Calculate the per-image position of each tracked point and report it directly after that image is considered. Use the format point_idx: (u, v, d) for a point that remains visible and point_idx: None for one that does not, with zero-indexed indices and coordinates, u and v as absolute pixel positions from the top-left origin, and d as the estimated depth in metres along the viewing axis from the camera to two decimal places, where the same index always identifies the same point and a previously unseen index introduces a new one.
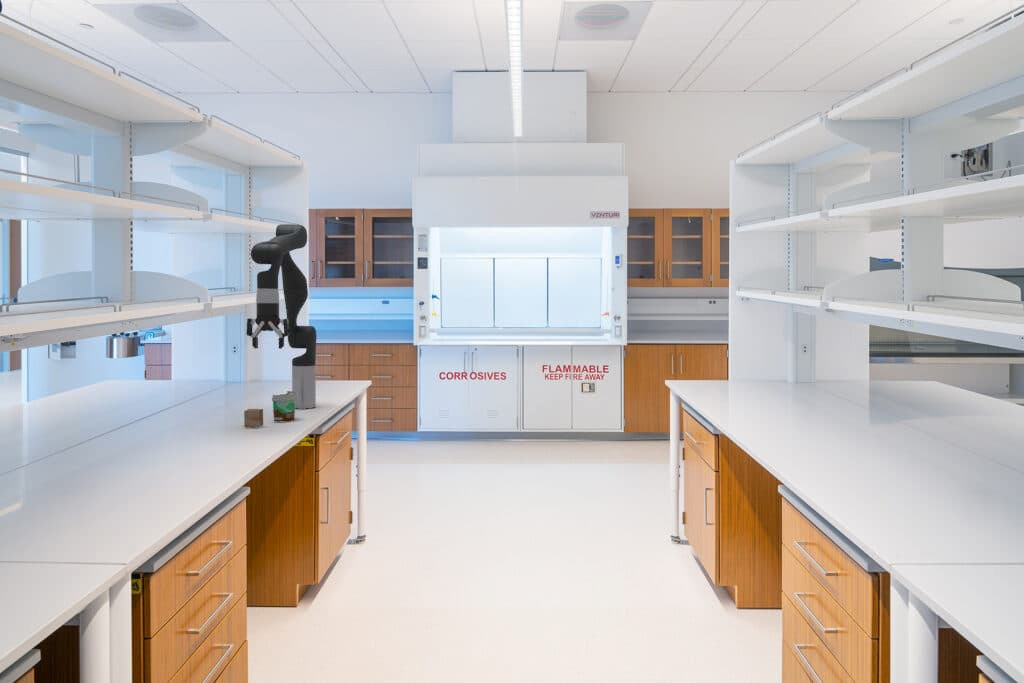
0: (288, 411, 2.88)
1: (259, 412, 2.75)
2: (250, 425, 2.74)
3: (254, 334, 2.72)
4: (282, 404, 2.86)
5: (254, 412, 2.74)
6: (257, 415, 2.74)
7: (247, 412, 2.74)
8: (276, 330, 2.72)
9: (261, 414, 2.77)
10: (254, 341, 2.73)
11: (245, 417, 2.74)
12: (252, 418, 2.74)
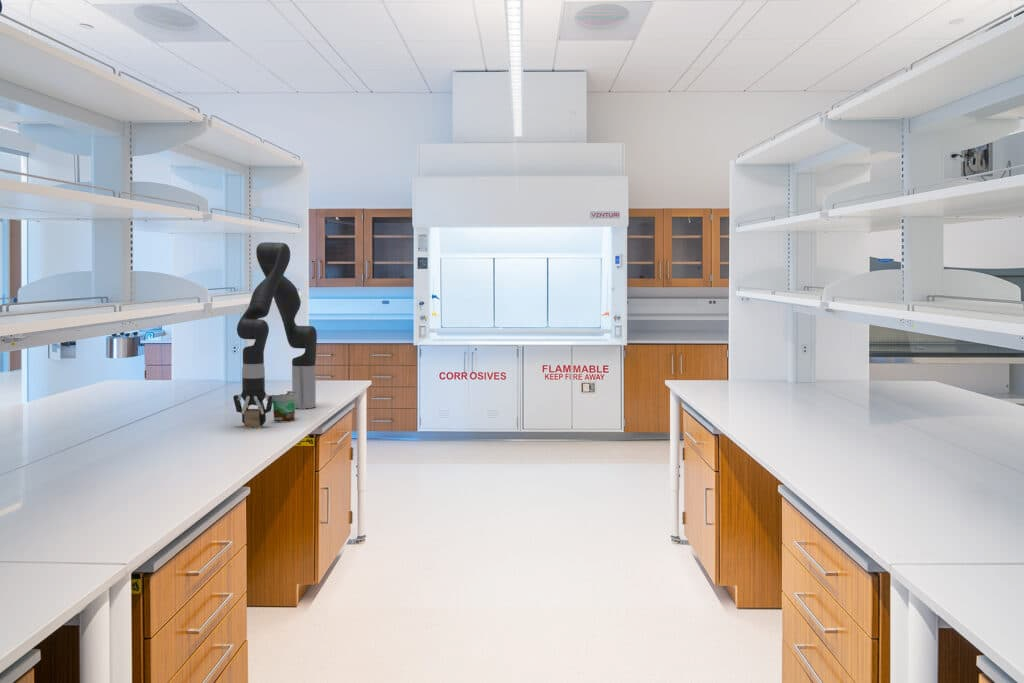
0: (288, 411, 2.88)
1: (259, 412, 2.75)
2: (250, 425, 2.74)
3: (244, 410, 2.75)
4: (282, 404, 2.86)
5: (254, 412, 2.74)
6: (257, 415, 2.74)
7: (247, 412, 2.74)
8: (259, 406, 2.74)
9: None
10: None
11: (245, 417, 2.74)
12: (252, 418, 2.74)
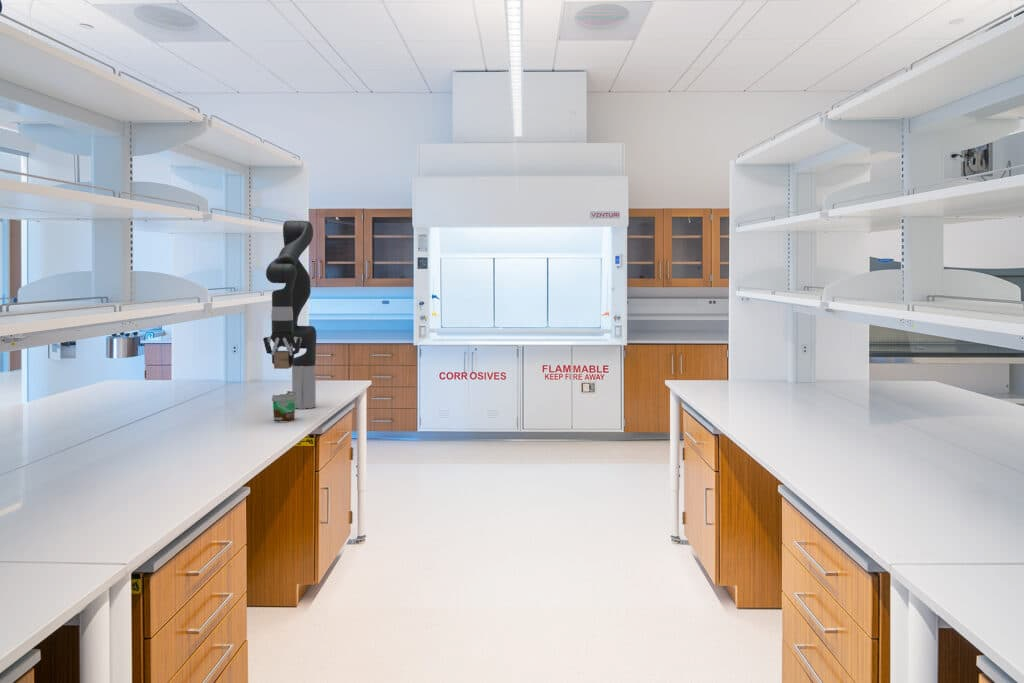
0: (288, 411, 2.88)
1: (288, 353, 2.86)
2: (279, 366, 2.85)
3: None
4: (282, 404, 2.86)
5: (283, 353, 2.85)
6: (286, 356, 2.85)
7: (276, 353, 2.85)
8: (288, 347, 2.85)
9: None
10: None
11: (275, 358, 2.85)
12: (281, 359, 2.85)
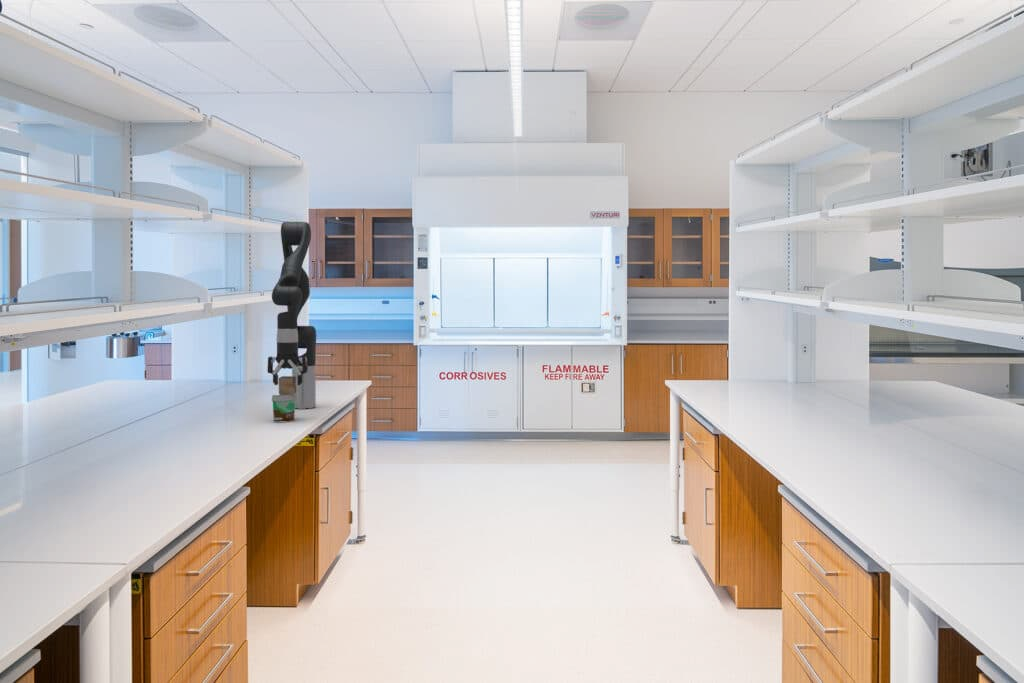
0: (288, 411, 2.88)
1: (293, 379, 2.88)
2: (284, 391, 2.87)
3: (275, 372, 2.88)
4: (282, 404, 2.86)
5: (288, 379, 2.87)
6: (291, 381, 2.87)
7: (281, 379, 2.87)
8: (295, 368, 2.88)
9: (294, 381, 2.90)
10: (275, 378, 2.88)
11: (279, 384, 2.87)
12: (286, 385, 2.87)
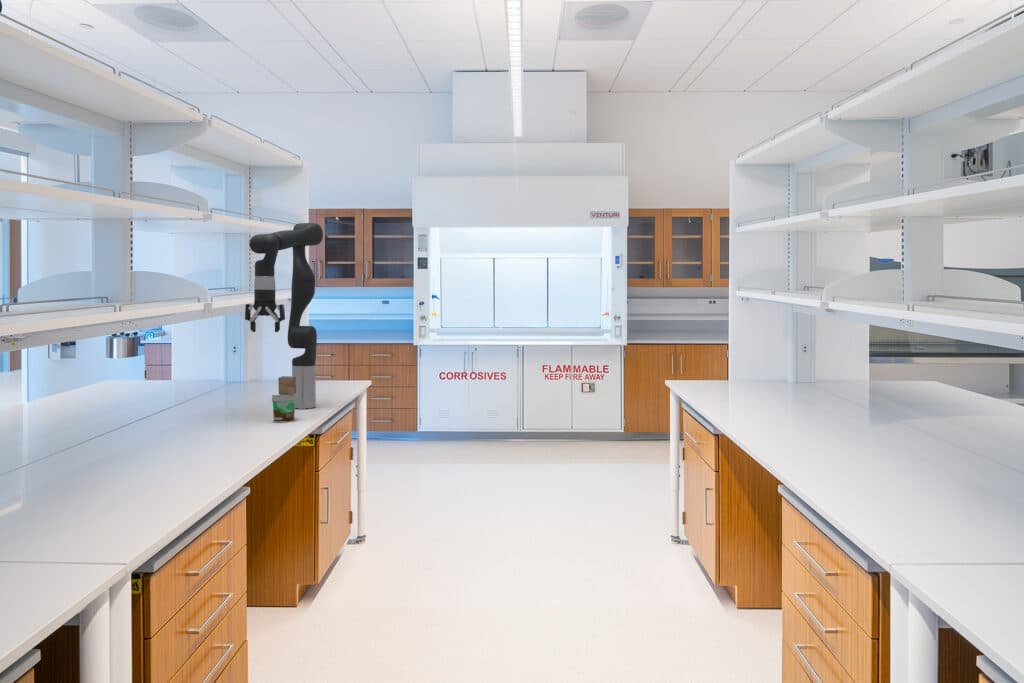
0: (288, 411, 2.88)
1: (292, 379, 2.88)
2: (284, 391, 2.87)
3: (252, 318, 2.93)
4: (282, 404, 2.86)
5: (288, 379, 2.87)
6: (291, 381, 2.87)
7: (281, 379, 2.87)
8: (272, 315, 2.92)
9: (294, 381, 2.90)
10: (252, 325, 2.93)
11: (279, 384, 2.87)
12: (286, 384, 2.87)
